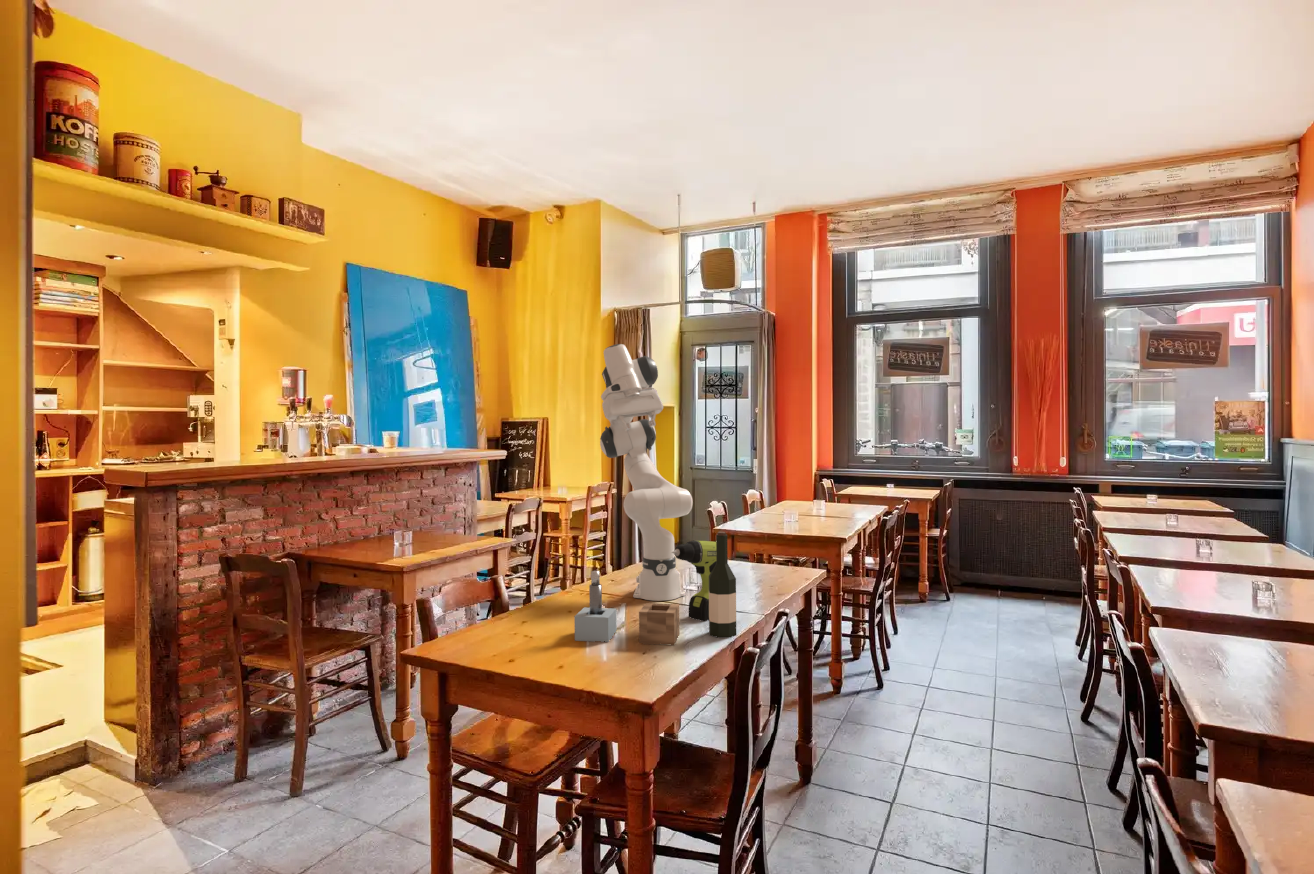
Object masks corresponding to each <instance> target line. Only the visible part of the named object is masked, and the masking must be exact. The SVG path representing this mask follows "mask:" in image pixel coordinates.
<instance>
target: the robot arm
mask: <svg viewBox="0 0 1314 874" xmlns="http://www.w3.org/2000/svg"><path fill="white" fill-rule="evenodd" d="M603 358H604V363H605V367H604V369H603V371H602V373H601V375H602V378H603V381H604V384H605V389H604V391H603V392H602V394H601V396H600V398H601V400H602V401H603V402H602V405H601V407H602V411H603V414H604V417H605V418H606V419H607V420H608V421H609V423H610V426H609V427H608V426H605V427H604V431H603V432H602V433H601V435H600V438H599V440H600V441H599V443H600V444H599V445H600V449H601V451H602V452H603V454H604V455H605V457H607V458H608V459H613V458H614V459H615V458H618V457H620V456H623V455H625V457H624V460H623V465H624V470H625V474H626V475H627V478H628V481H629V482H630V484H631V486H632V489H633V491H629V492H627V494H626V496H625V497H624V500H623V510H624V512H625V515H627V517H628V518H629V519H630V520H632V521H633V522H634V523H635V524H636V526H637V527H638V528H639V530H640V533H641V535H642V536H641V537H642V545H643V546H642V547H643V557H642V561H641V562H642V570H641V572H640V573H639V574H638V575H637V576H636V578H635V579H636V582H635V583H637V586H636V588H635V589H634V592H633V595H632V596H633V598H634V599H643V600H646V601H656V602H657V601H658V602H659V601H661V602H663V601H671V600H675V599H676V600H677V599H679V598H680V597H684V596H686V592H685V591H684V590H682V587H681V585H682V584H681V573H680V571H678V569H677V568H676V566H677V558H676V556H675V555H674V553H672V552H673V551H674V550H675V537H674V534H673V533H672V532H671V531H669V530H668V529H666V528H665V527H662V526H661V523H660V520H661V519H662V520H663V519H676V518H680V517H683V516H687V515H689V513H690V512H691V511H692V509H693V504H694V502H693V501H694V500H693V496H692V494H691V493H690V492H689V490H688V489H686V488H682V487H680V486H677V485H675V484H674V483H671V482H670V481H668V480H667V479H665V478H664V477H663V476H662V475H661V474H660V472H659V470H658V468H656V466H655V464H654V463H653V461H652V459H651V458H650V457H649V455H648V453H647V450H648V451H651V450H652V447H653V445H655V442H656V440H657V439H656V438H657V437H656V435H657V433H656V428H655V426H657V425H656V421H655V420H656V416H657V415H658V414H660V413H661V412H662V411H663V409H664V404H663V401H662V400H661V397H660V396H659V392H658V390H657V389H656V388H653V387H652V386H653V385H655V384H656V382H657V380H658V378H659V369H658V366H657V364H656V363H657V362H656V361H655V360H654V359H653V358H651V357H649V356H646V355H643V356H641V357H637V358H635V359H632V357H631V354H630V352H629V350H628V348H627V346H626V345H625V344H624V343H623V344H622V343H617V344H613V345H610V346H608V347H606V348H605V349H604V350H603ZM641 416H643V417H644V416H648V417H649V418H650V420H649V419H648V418H647V419H646V418H643V419H638V420H637V421H633V419H634V417H635V418H636V417H641Z"/></svg>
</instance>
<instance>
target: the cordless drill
mask: <svg viewBox="0 0 1314 874" xmlns="http://www.w3.org/2000/svg"><path fill="white" fill-rule="evenodd" d="M672 553H674V556H675V557H676V560H677V559H678V560H681V561H686V562H688V563H690V564H692V565H693V567H695V570H696V571H695V572H696V574H699V576H700V578H701V589H700V590H699V592H697V593H694V594H693V595H692V596H691V597H690V600H689V603H688V618H690V617H691V618H690V619H692V618H694V619H693V620H696V619H697V621H700V620H701V621H700V622H707V620H708V621H709V575H710V573H711V571H712V570H713V568H714V566H715V565H716V541H709V540H691V541H690V540H689V541H687V542H686V543H682V544H678V545H676V547H674V551H673V552H672Z"/></svg>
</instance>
